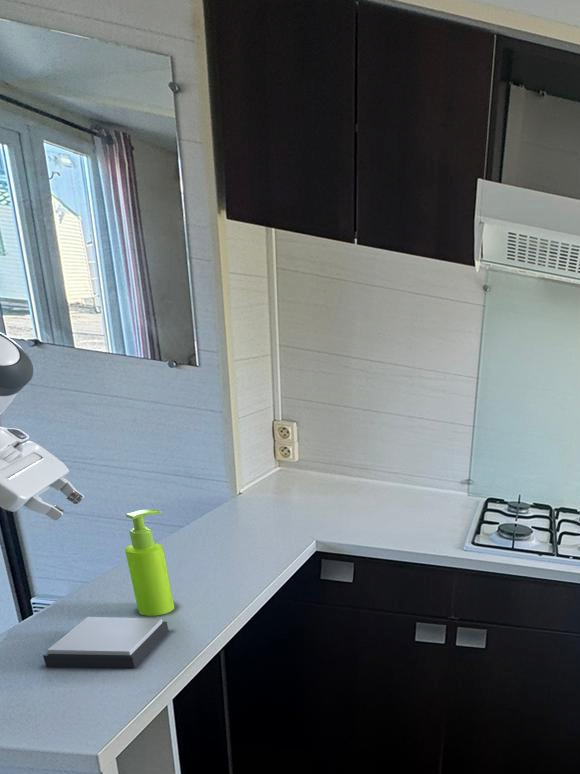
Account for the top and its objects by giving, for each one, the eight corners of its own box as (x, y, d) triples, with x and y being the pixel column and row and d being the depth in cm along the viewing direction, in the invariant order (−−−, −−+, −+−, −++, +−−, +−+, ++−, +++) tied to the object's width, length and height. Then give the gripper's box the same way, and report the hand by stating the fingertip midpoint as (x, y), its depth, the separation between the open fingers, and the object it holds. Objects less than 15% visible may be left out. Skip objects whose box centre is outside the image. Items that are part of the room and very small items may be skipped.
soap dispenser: (186, 606, 126) (168, 511, 118) (151, 618, 120) (130, 519, 112) (167, 598, 128) (148, 504, 120) (131, 610, 122) (109, 512, 114)
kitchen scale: (46, 667, 103) (41, 651, 102) (89, 629, 114) (86, 615, 113) (134, 668, 106) (131, 653, 104) (168, 631, 117) (166, 617, 116)
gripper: (-34, 453, 96) (61, 514, 104) (24, 427, 113) (102, 481, 121) (-62, 480, 96) (34, 540, 104) (0, 451, 114) (79, 503, 121)
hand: (71, 508), depth 113 cm, fingers open, 8 cm apart
